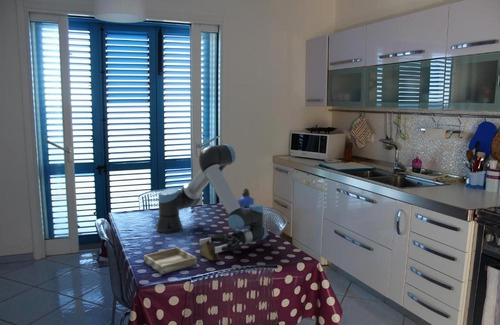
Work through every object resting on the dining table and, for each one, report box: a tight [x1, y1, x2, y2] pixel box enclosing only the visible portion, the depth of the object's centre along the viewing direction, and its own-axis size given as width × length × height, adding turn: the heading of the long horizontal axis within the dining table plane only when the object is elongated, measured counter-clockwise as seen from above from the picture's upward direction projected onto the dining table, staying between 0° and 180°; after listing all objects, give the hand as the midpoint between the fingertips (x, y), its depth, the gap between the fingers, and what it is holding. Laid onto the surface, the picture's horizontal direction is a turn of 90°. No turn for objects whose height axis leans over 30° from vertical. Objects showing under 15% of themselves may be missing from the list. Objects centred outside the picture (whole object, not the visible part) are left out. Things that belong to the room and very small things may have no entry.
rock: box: [199, 240, 220, 261], centre depth 207 cm, size 11×9×10 cm
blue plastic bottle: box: [237, 188, 255, 231], centre depth 248 cm, size 9×9×25 cm
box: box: [143, 246, 198, 275], centre depth 199 cm, size 18×18×4 cm
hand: (207, 246), depth 205 cm, fingers open, 13 cm apart
